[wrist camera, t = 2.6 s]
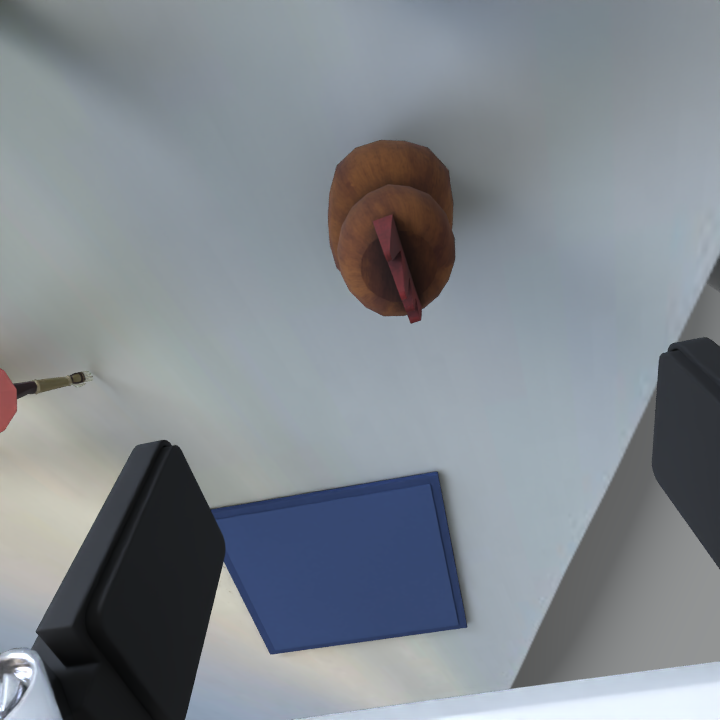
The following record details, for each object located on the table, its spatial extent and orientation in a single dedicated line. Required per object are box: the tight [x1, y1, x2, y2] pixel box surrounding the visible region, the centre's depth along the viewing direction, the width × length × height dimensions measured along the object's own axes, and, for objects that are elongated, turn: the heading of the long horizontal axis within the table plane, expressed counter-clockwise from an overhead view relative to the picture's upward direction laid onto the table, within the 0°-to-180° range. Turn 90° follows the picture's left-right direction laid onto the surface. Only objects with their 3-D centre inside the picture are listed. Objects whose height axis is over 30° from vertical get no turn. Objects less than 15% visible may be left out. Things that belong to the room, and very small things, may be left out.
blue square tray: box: [211, 472, 467, 654], centre depth 44 cm, size 18×18×1 cm
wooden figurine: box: [328, 140, 455, 323], centre depth 23 cm, size 7×6×15 cm
